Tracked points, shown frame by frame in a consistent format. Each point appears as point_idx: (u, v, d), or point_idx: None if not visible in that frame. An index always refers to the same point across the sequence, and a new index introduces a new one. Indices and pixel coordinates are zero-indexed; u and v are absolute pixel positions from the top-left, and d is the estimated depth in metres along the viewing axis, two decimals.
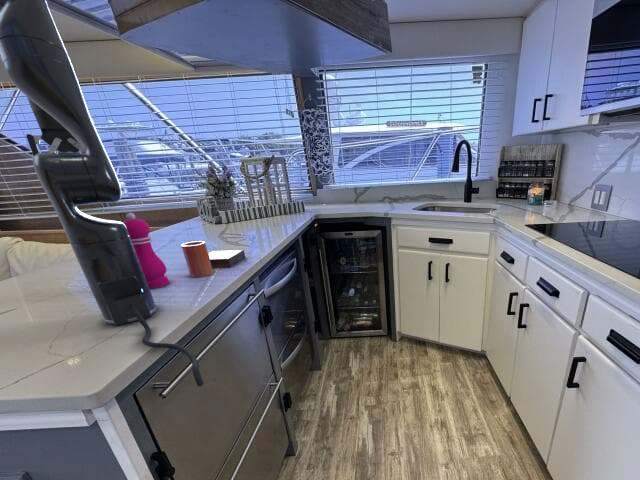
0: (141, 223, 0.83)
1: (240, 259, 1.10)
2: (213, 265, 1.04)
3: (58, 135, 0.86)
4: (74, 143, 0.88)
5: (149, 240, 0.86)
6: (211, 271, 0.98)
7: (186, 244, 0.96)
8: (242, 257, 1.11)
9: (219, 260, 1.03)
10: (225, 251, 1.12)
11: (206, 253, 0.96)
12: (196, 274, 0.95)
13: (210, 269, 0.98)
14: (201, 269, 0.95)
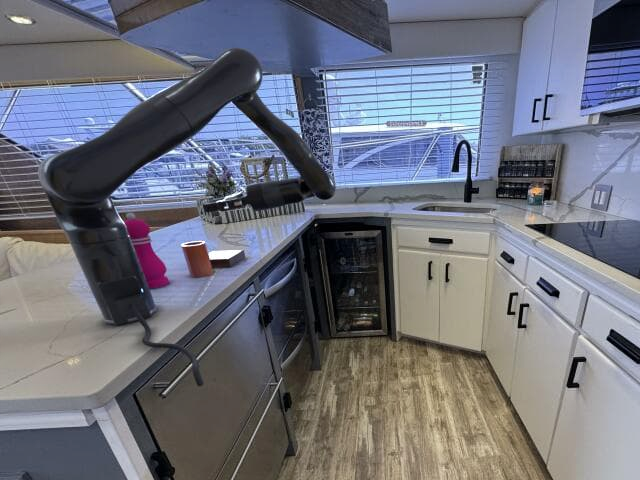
0: (141, 223, 0.83)
1: (240, 259, 1.10)
2: (213, 265, 1.04)
3: (245, 195, 0.93)
4: (234, 194, 0.90)
5: (149, 240, 0.86)
6: (211, 271, 0.98)
7: (186, 244, 0.96)
8: (242, 257, 1.11)
9: (219, 260, 1.03)
10: (225, 251, 1.12)
11: (206, 253, 0.96)
12: (196, 274, 0.95)
13: (210, 269, 0.98)
14: (201, 269, 0.95)
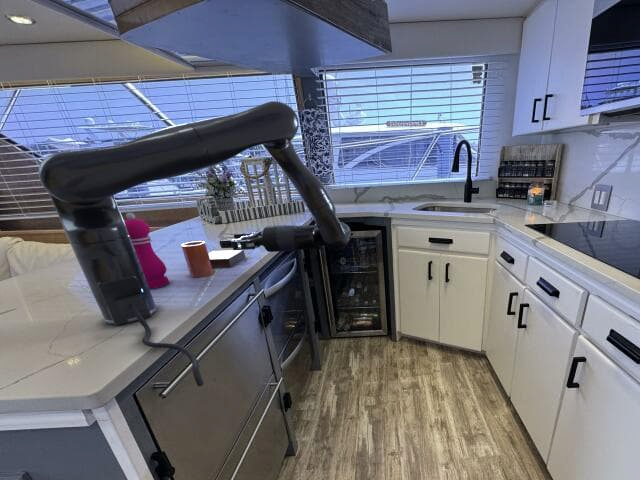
0: (141, 223, 0.83)
1: (240, 259, 1.10)
2: (213, 265, 1.04)
3: None
4: (251, 234, 0.92)
5: (149, 240, 0.86)
6: (211, 271, 0.98)
7: (186, 244, 0.96)
8: (242, 257, 1.11)
9: (219, 260, 1.03)
10: (225, 251, 1.12)
11: (206, 253, 0.96)
12: (196, 274, 0.95)
13: (210, 269, 0.98)
14: (201, 269, 0.95)
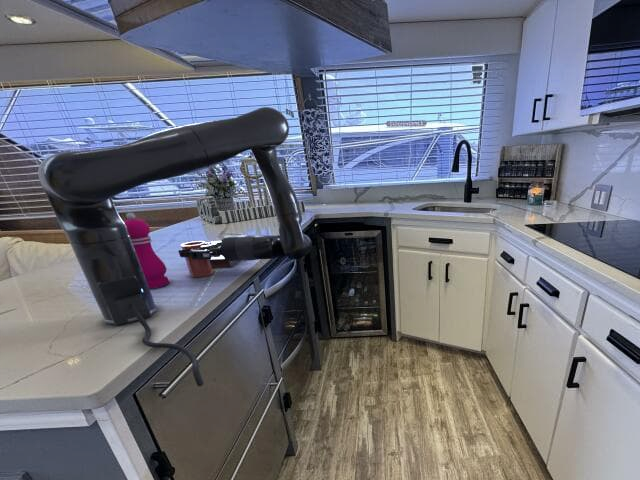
0: (141, 223, 0.83)
1: None
2: (213, 265, 1.04)
3: None
4: (211, 244, 0.93)
5: (149, 240, 0.86)
6: (211, 271, 0.98)
7: (186, 244, 0.96)
8: None
9: (219, 260, 1.03)
10: None
11: None
12: (196, 274, 0.95)
13: (210, 269, 0.98)
14: (201, 269, 0.95)
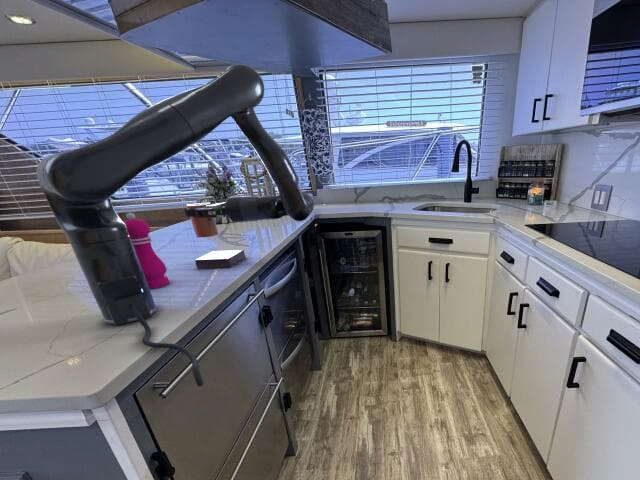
0: (141, 223, 0.83)
1: (240, 259, 1.10)
2: (213, 265, 1.04)
3: None
4: (216, 204, 0.96)
5: (149, 240, 0.86)
6: (216, 232, 1.01)
7: (192, 205, 0.98)
8: (242, 257, 1.11)
9: (219, 260, 1.03)
10: (225, 251, 1.12)
11: None
12: (202, 234, 0.98)
13: (215, 230, 1.00)
14: (207, 230, 0.98)
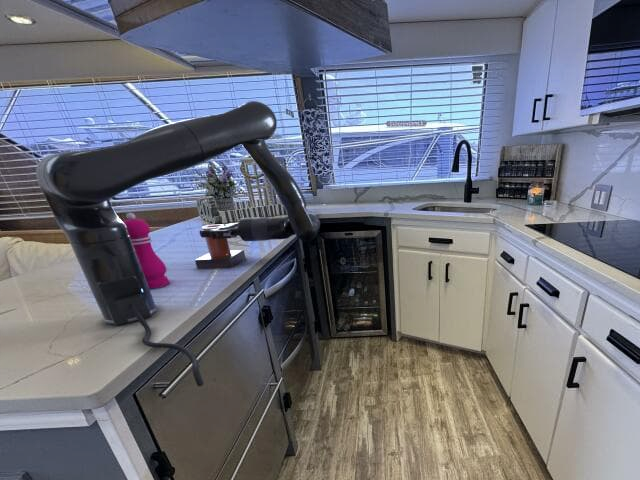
0: (141, 223, 0.83)
1: (240, 259, 1.10)
2: (213, 265, 1.04)
3: None
4: (228, 225, 1.02)
5: (149, 240, 0.86)
6: (229, 252, 1.07)
7: (206, 227, 1.05)
8: (242, 257, 1.11)
9: (219, 260, 1.03)
10: None
11: None
12: (215, 254, 1.05)
13: (228, 250, 1.07)
14: (220, 250, 1.05)
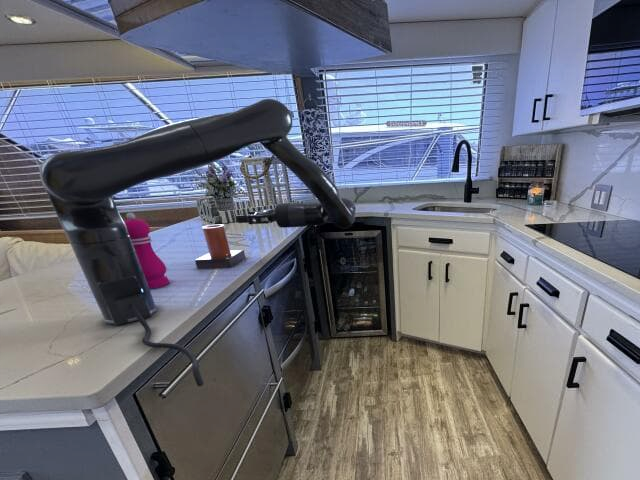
0: (141, 223, 0.83)
1: (240, 259, 1.10)
2: (213, 265, 1.04)
3: (274, 212, 1.03)
4: (265, 210, 1.01)
5: (149, 240, 0.86)
6: (229, 252, 1.07)
7: (206, 227, 1.05)
8: (242, 257, 1.11)
9: (219, 260, 1.03)
10: None
11: (224, 235, 1.05)
12: (215, 254, 1.05)
13: (228, 250, 1.07)
14: (220, 250, 1.05)
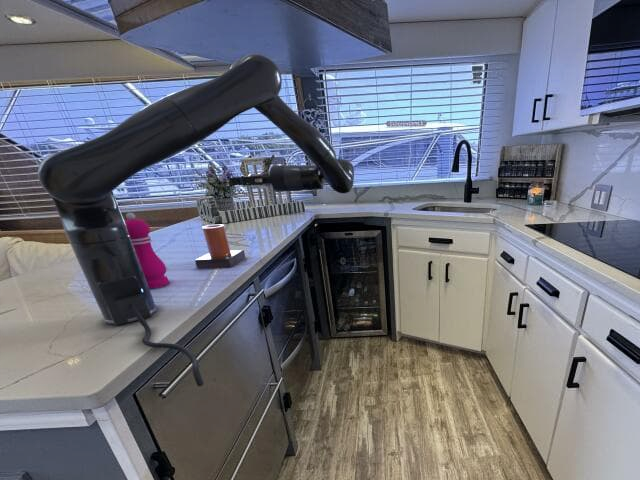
0: (141, 223, 0.83)
1: (240, 259, 1.10)
2: (213, 265, 1.04)
3: None
4: (259, 173, 0.96)
5: (149, 240, 0.86)
6: (229, 252, 1.07)
7: (206, 227, 1.05)
8: (242, 257, 1.11)
9: (219, 260, 1.03)
10: None
11: (224, 235, 1.05)
12: (215, 254, 1.05)
13: (228, 250, 1.07)
14: (220, 250, 1.05)
